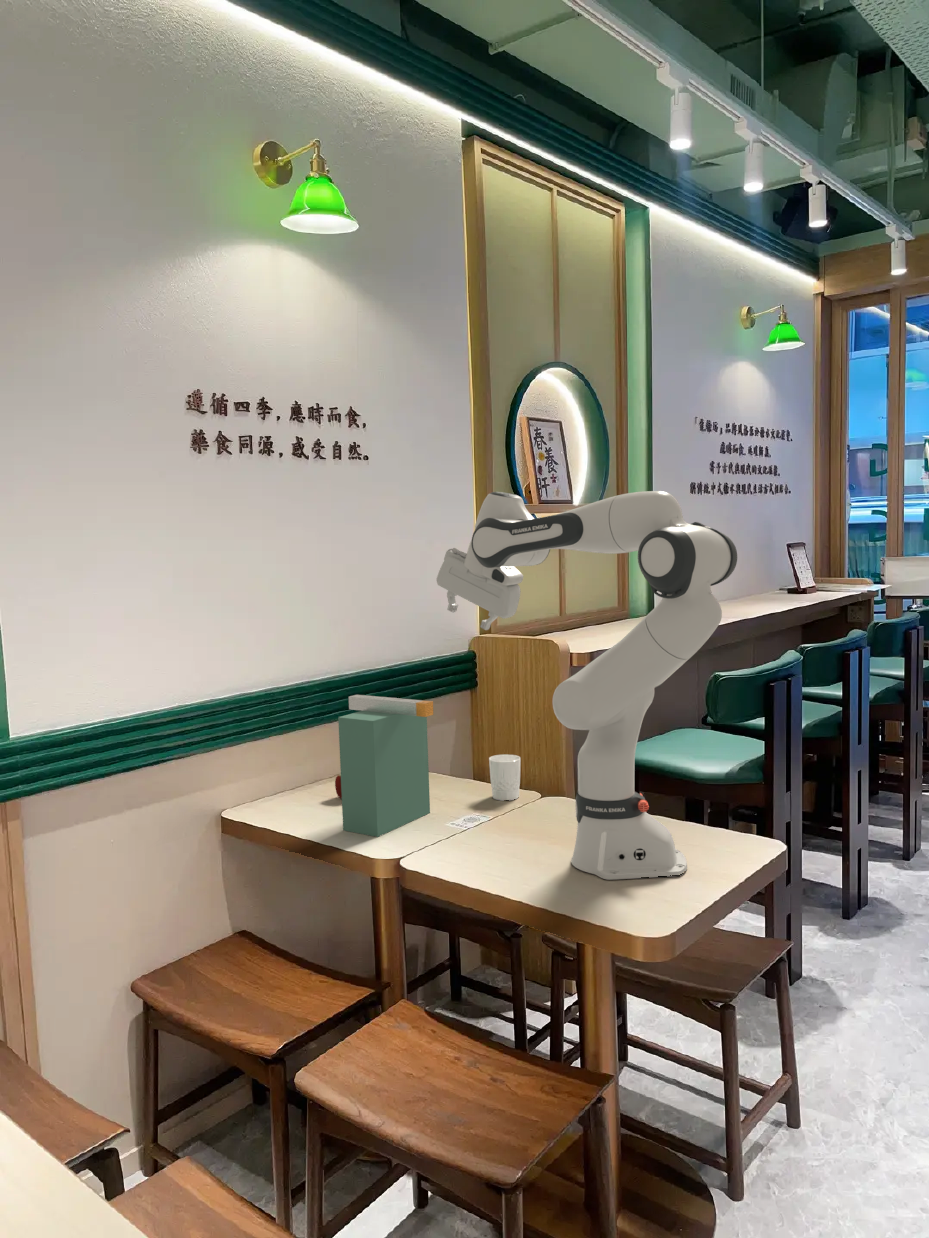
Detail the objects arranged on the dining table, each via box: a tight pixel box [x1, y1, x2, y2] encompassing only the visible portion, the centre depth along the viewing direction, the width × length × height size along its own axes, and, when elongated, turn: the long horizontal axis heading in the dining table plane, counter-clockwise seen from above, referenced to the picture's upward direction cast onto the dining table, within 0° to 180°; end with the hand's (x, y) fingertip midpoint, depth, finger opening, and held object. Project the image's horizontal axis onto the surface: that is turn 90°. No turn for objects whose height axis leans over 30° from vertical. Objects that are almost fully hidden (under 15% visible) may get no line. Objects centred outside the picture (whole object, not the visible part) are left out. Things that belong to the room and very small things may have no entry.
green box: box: [337, 710, 431, 838], centre depth 215 cm, size 10×20×26 cm, turn 147°
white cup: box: [488, 753, 521, 802], centre depth 233 cm, size 8×8×10 cm
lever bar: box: [348, 694, 434, 718], centre depth 213 cm, size 22×3×3 cm, turn 57°
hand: (467, 619), depth 208 cm, fingers open, 8 cm apart
